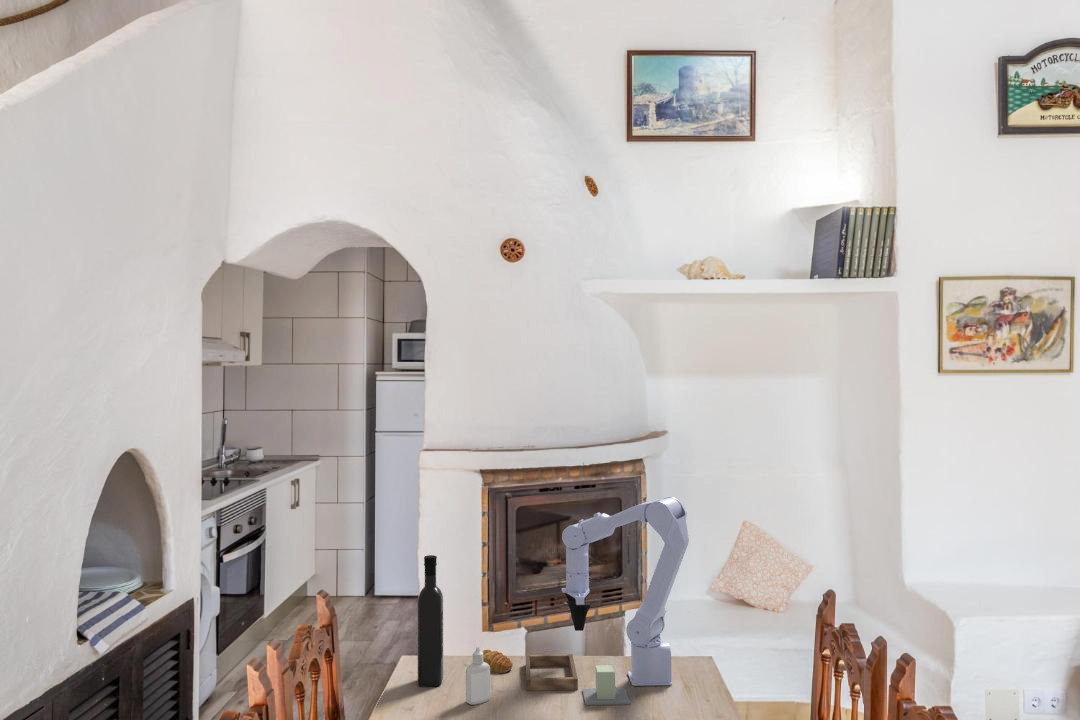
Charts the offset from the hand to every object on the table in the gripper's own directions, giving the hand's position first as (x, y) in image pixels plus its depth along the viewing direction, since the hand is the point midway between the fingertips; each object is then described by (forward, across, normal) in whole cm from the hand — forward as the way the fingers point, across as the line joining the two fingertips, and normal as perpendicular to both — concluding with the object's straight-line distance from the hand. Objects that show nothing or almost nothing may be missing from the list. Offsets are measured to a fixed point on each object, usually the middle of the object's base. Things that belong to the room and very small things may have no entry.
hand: (577, 625), depth 186 cm
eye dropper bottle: (+10, +20, -24) cm, 33 cm away
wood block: (+10, +20, +4) cm, 22 cm away
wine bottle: (+10, +9, -36) cm, 39 cm away
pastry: (+11, 0, -21) cm, 24 cm away
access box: (+10, +7, -7) cm, 14 cm away
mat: (+10, +20, +5) cm, 23 cm away
